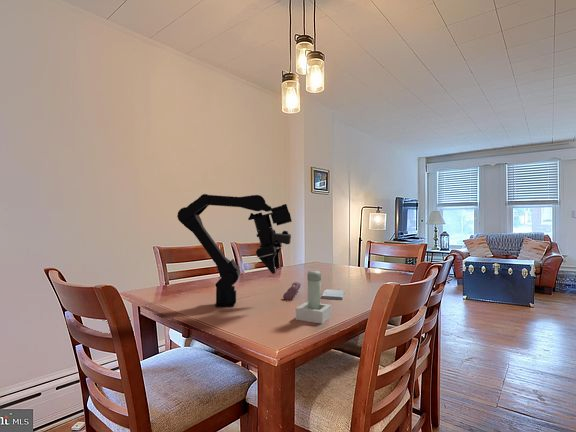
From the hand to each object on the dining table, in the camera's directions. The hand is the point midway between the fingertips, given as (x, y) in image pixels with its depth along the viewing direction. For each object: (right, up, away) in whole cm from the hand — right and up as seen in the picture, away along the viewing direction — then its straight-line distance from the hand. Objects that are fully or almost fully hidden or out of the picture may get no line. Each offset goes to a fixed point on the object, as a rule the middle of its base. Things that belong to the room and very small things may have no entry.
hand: (276, 271), depth 116 cm
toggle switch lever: (+12, -11, -15) cm, 22 cm away
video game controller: (+6, -12, +12) cm, 18 cm away
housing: (+12, -12, -15) cm, 23 cm away
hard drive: (+23, -13, +14) cm, 30 cm away
